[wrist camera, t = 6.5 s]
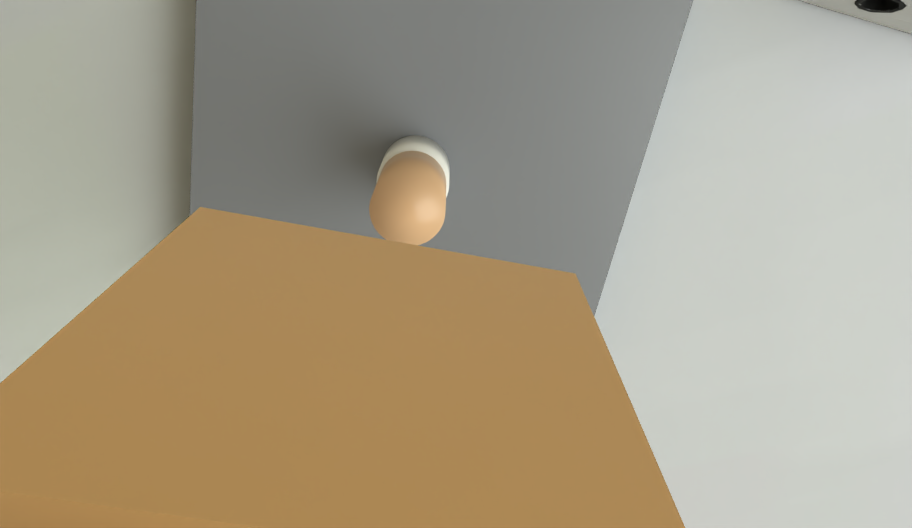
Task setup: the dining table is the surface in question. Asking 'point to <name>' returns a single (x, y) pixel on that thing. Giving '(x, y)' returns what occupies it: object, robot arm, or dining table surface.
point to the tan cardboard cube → (325, 394)
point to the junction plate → (435, 120)
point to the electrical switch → (873, 11)
